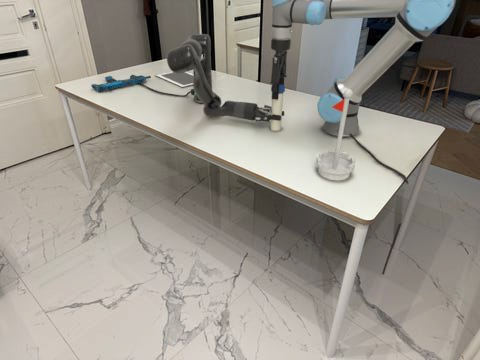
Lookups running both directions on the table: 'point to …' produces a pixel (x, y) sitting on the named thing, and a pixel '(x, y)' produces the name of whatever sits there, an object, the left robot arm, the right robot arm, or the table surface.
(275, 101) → the tube
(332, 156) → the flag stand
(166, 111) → the table surface
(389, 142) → the table surface
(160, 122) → the table surface
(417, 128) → the table surface
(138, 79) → the submachine gun
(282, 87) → the lid
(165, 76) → the tablet
